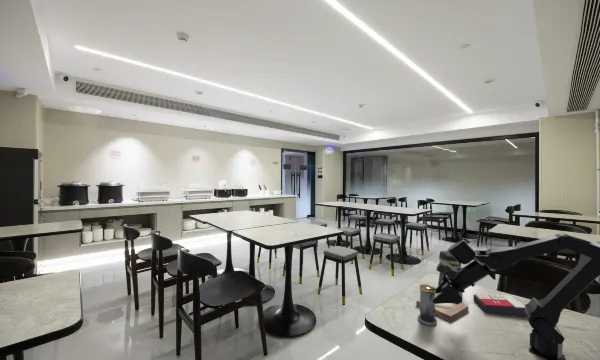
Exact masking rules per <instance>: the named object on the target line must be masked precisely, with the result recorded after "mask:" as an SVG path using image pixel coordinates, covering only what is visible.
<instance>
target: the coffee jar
mask: <svg viewBox="0 0 600 360" xmlns="http://www.w3.org/2000/svg"><path fill="white" fill-rule="evenodd" d="M438 259H439V262H440V261H441V260H443V261H445V262H446V263H448V264H450V265H452V266H453V267H455V268H456V269H457V268H459V267H462V263H461V264H460V263H459V262H458V261H457V260H456V259H455V258H454V257H453V256H452V255H451V254H450V253H449V252H448V251H447V250H440V252H439V255H438ZM443 275H444V274H443V273H441V272H439V275H438V283H437V285H438V286H439V285H440V284H441V282H442V281H443ZM438 286H437V287H438ZM459 291H460V290H459ZM460 292H461V291H460ZM461 293H462V292H461Z"/></svg>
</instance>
